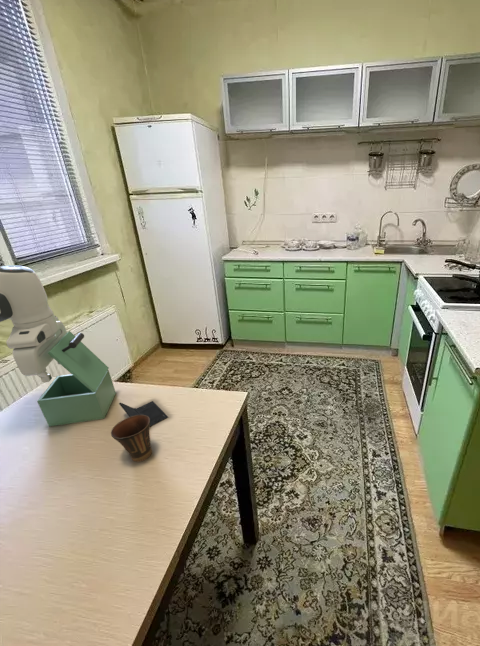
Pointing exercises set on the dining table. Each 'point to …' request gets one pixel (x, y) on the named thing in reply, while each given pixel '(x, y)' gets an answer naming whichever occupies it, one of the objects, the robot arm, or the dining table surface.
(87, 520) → the dining table surface
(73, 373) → the lid
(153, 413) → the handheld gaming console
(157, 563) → the dining table surface
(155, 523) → the dining table surface
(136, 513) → the dining table surface
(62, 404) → the green open box
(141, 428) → the cup
